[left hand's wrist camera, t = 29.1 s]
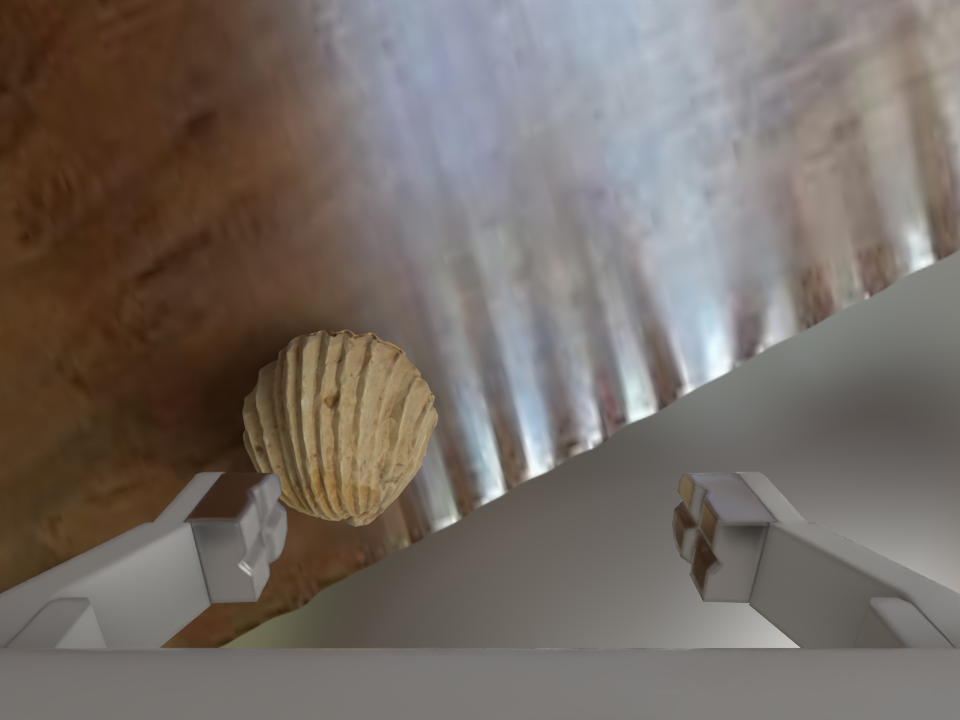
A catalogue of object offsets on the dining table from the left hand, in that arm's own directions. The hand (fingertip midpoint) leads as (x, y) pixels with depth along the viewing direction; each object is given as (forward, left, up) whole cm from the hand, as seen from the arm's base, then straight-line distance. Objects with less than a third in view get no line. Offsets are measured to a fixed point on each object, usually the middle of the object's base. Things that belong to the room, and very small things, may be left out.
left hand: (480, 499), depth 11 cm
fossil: (+18, 0, -36) cm, 40 cm away
